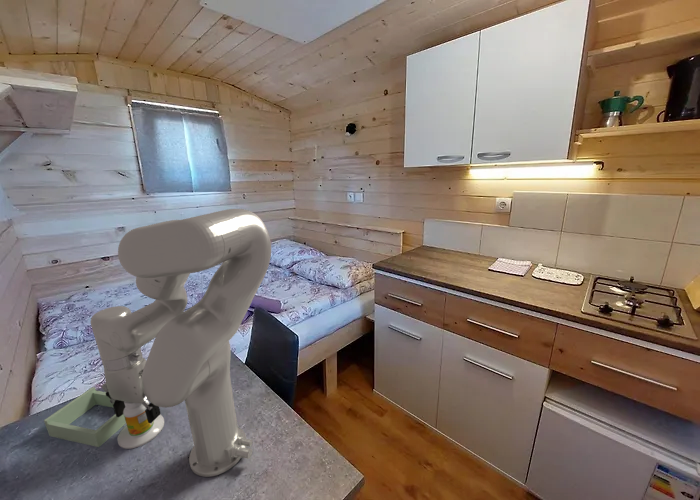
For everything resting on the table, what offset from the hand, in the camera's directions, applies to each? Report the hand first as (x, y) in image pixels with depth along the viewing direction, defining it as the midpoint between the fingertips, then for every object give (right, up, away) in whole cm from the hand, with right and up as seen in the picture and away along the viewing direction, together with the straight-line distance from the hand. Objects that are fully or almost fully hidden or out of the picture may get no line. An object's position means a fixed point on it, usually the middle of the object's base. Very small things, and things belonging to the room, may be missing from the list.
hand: (138, 415), depth 76 cm
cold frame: (-14, -4, +5) cm, 16 cm away
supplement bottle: (0, -4, +1) cm, 4 cm away
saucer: (0, -5, +1) cm, 5 cm away
